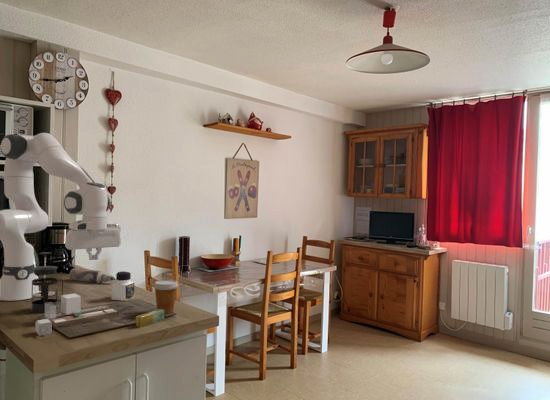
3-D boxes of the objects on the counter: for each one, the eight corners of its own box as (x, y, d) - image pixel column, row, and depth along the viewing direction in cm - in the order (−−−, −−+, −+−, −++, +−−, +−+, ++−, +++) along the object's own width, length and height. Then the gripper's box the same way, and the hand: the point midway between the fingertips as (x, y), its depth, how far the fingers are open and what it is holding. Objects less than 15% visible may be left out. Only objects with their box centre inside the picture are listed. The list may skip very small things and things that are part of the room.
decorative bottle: (67, 281, 216) (68, 269, 216) (78, 279, 224) (78, 266, 224) (109, 286, 209) (109, 273, 209) (119, 283, 216) (119, 270, 216)
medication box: (160, 318, 158) (160, 308, 158) (165, 319, 157) (165, 309, 157) (135, 327, 148) (135, 316, 148) (140, 328, 147) (140, 317, 147)
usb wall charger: (48, 330, 142) (48, 318, 142) (53, 335, 136) (53, 323, 136) (35, 332, 139) (35, 320, 139) (39, 338, 134) (40, 326, 134)
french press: (29, 314, 158) (30, 254, 158) (27, 308, 166) (29, 251, 165) (63, 310, 164) (64, 253, 164) (60, 305, 172) (61, 250, 172)
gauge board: (42, 319, 153) (43, 314, 153) (104, 308, 169) (104, 303, 169) (54, 327, 144) (54, 322, 144) (118, 315, 160) (118, 310, 160)
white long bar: (44, 316, 152) (44, 302, 152) (102, 306, 166) (102, 294, 166) (49, 320, 147) (50, 306, 147) (108, 309, 162) (108, 297, 162)
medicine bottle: (125, 301, 181) (126, 273, 181) (111, 299, 183) (111, 272, 183) (134, 297, 188) (135, 271, 188) (120, 296, 190) (120, 270, 190)
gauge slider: (60, 311, 155) (61, 295, 155) (74, 309, 159) (75, 293, 159) (70, 318, 148) (70, 301, 148) (84, 315, 152) (85, 298, 152)
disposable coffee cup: (164, 316, 161) (165, 285, 160) (148, 312, 166) (148, 282, 165) (182, 311, 169) (183, 281, 168) (165, 307, 174) (166, 278, 174)
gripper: (117, 223, 171) (116, 256, 171) (64, 224, 156) (63, 260, 156) (124, 224, 166) (122, 258, 166) (70, 225, 152) (69, 263, 152)
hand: (93, 259), depth 161 cm, fingers closed
